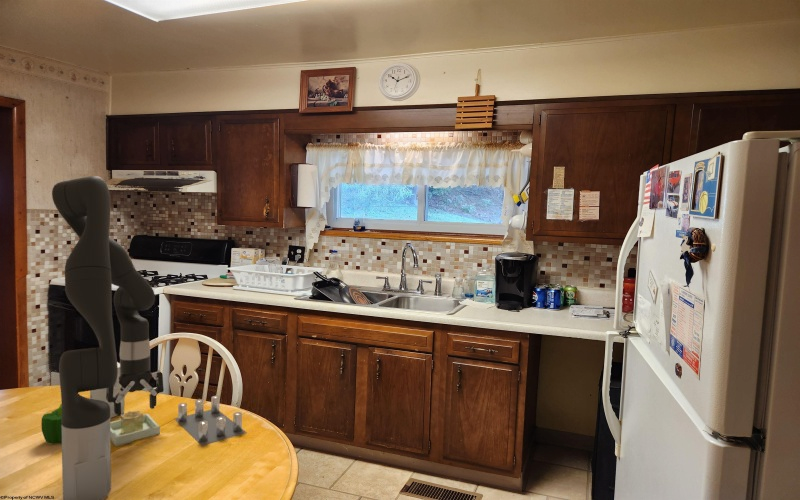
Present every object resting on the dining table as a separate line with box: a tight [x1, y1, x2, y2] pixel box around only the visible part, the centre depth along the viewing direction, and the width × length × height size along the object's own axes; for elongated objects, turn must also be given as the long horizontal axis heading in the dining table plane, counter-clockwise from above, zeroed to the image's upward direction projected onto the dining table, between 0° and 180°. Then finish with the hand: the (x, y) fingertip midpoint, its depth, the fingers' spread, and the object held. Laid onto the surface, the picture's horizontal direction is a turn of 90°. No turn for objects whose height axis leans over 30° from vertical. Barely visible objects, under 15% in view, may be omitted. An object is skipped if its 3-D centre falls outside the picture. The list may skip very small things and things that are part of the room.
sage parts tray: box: [110, 413, 161, 447], centre depth 143 cm, size 11×11×2 cm
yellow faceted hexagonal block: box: [120, 410, 144, 435], centre depth 143 cm, size 6×5×5 cm
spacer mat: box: [174, 409, 247, 447], centre depth 149 cm, size 22×13×1 cm, turn 43°
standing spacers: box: [177, 395, 243, 442], centre depth 148 cm, size 18×12×5 cm
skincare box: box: [89, 361, 126, 419], centre depth 155 cm, size 8×7×16 cm
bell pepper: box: [40, 403, 62, 445], centre depth 137 cm, size 8×8×10 cm
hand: (135, 411), depth 142 cm, fingers open, 8 cm apart
